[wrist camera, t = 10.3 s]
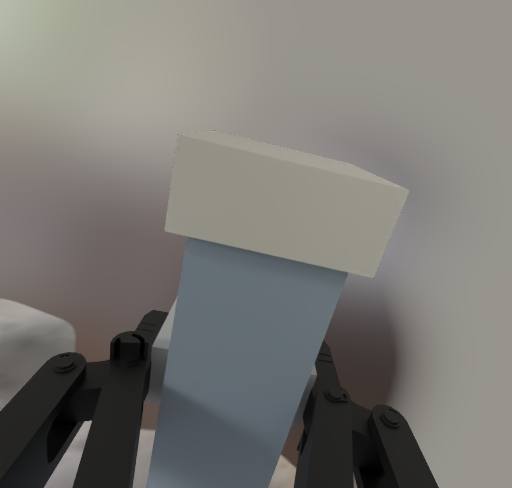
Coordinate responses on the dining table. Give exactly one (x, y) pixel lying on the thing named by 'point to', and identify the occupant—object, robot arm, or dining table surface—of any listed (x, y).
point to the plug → (255, 297)
